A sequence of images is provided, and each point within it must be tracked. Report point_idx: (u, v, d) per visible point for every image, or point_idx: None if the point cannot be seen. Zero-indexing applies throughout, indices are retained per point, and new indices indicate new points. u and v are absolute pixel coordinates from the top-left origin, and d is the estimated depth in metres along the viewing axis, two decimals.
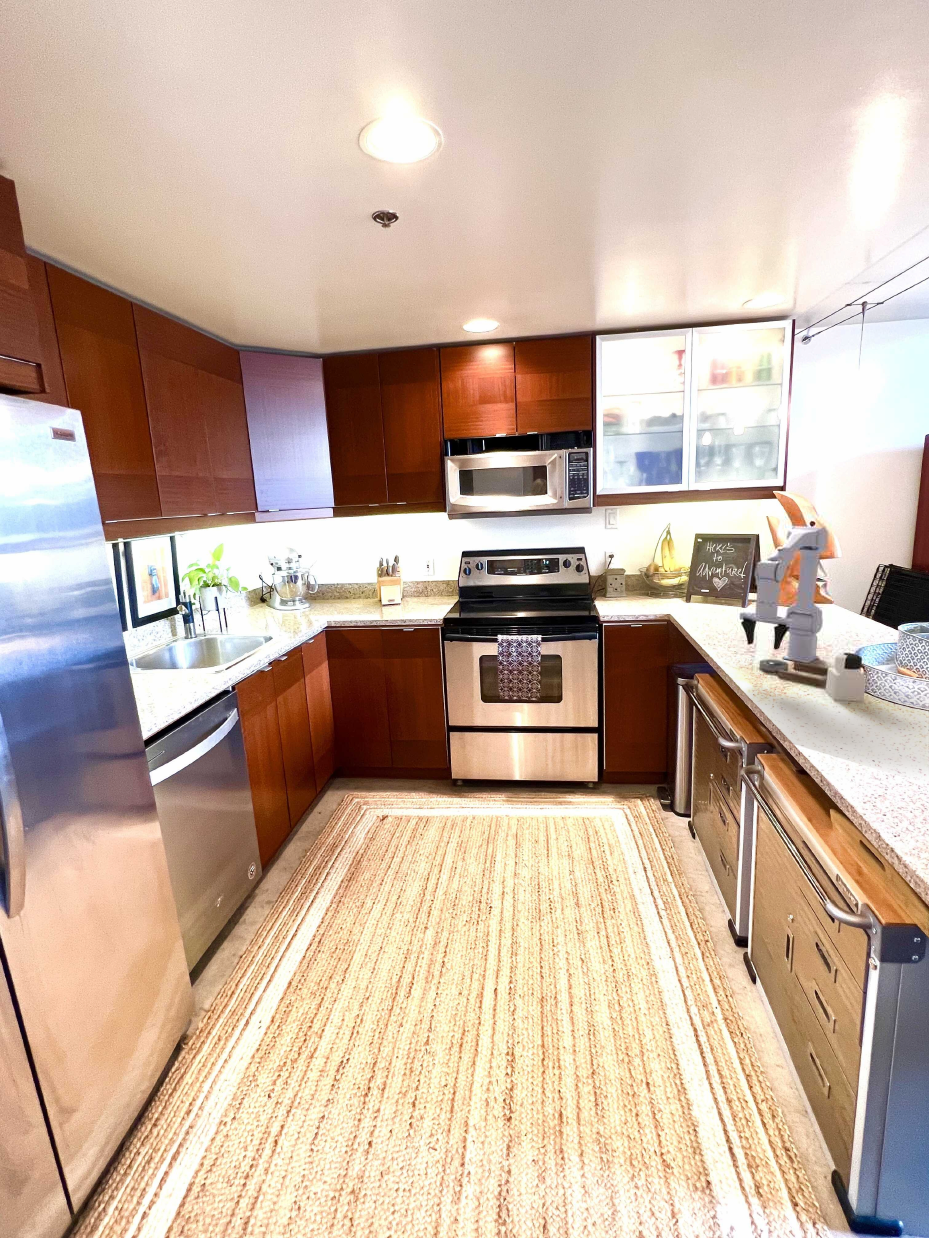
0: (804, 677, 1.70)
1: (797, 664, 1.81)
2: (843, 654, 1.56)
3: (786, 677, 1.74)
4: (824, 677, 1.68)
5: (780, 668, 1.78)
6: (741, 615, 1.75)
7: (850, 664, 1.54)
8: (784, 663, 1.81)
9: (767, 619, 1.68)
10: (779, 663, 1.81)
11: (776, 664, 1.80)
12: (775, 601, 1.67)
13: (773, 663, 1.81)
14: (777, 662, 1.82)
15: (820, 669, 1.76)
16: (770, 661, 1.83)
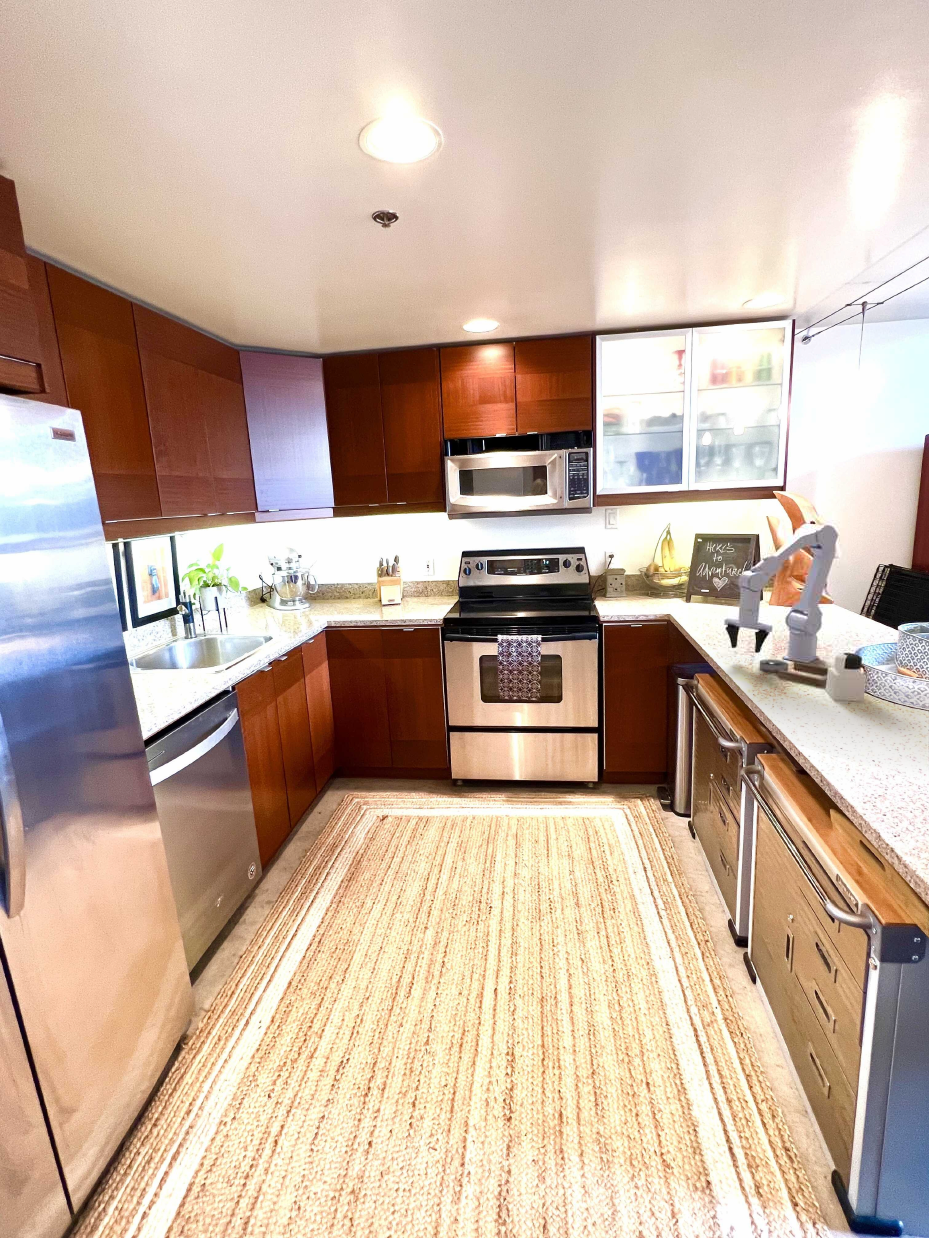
0: (804, 677, 1.70)
1: (797, 664, 1.81)
2: (843, 654, 1.56)
3: (786, 677, 1.74)
4: (824, 677, 1.68)
5: (780, 668, 1.78)
6: (726, 621, 1.91)
7: (850, 664, 1.54)
8: (784, 663, 1.81)
9: (749, 625, 1.83)
10: (779, 663, 1.81)
11: (776, 664, 1.80)
12: (752, 609, 1.82)
13: (773, 663, 1.81)
14: (777, 662, 1.82)
15: (820, 669, 1.76)
16: (770, 661, 1.83)
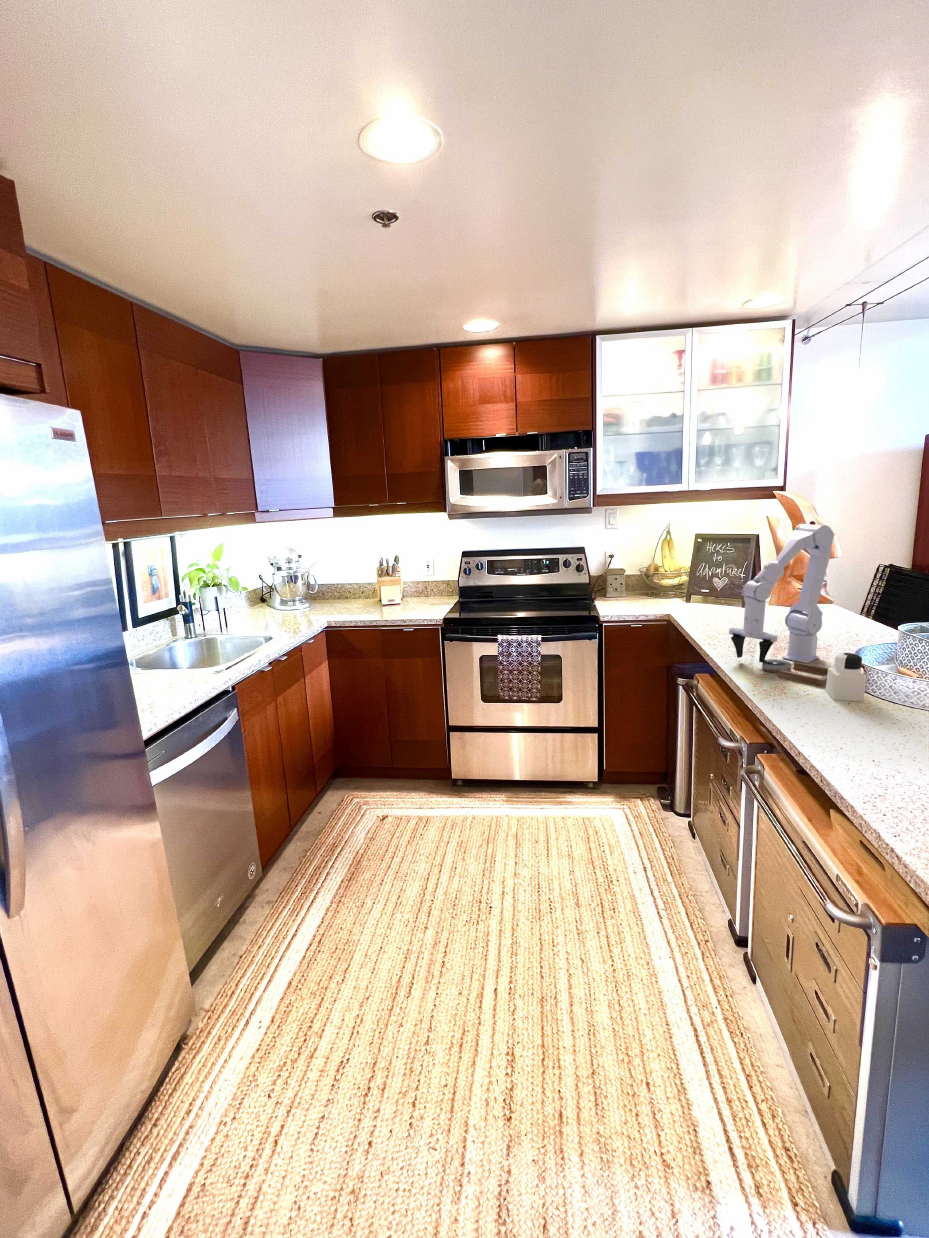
0: (804, 677, 1.70)
1: (797, 664, 1.81)
2: (843, 654, 1.56)
3: (786, 677, 1.74)
4: (824, 677, 1.68)
5: (783, 668, 1.77)
6: (730, 630, 1.90)
7: (850, 664, 1.54)
8: (787, 663, 1.80)
9: (754, 635, 1.83)
10: (782, 663, 1.80)
11: (779, 664, 1.80)
12: (757, 619, 1.81)
13: (776, 663, 1.81)
14: (780, 662, 1.81)
15: (820, 669, 1.76)
16: (773, 661, 1.83)
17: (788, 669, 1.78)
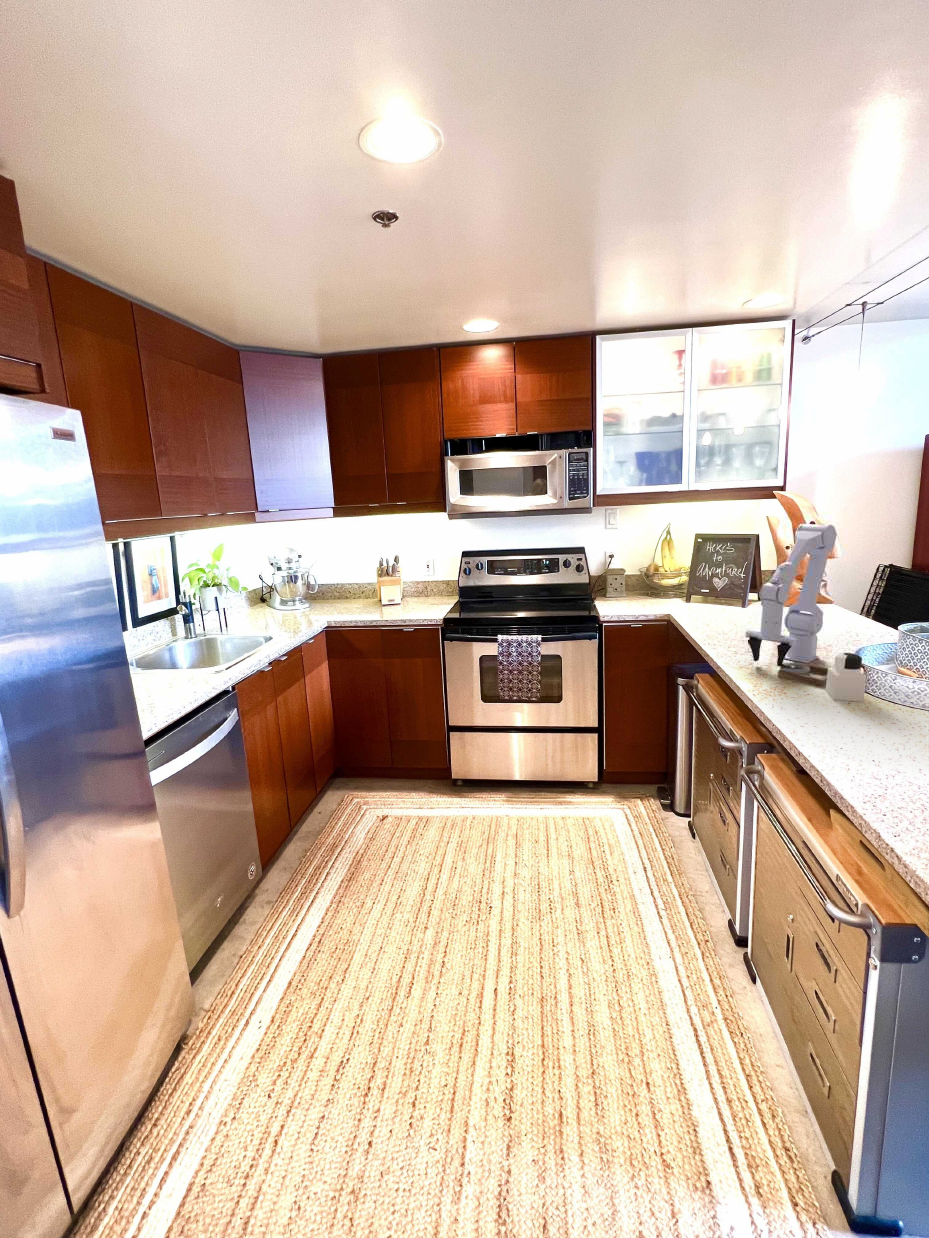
0: (804, 677, 1.70)
1: None
2: (843, 654, 1.56)
3: (786, 677, 1.74)
4: (824, 677, 1.68)
5: (801, 672, 1.73)
6: (747, 633, 1.86)
7: (850, 664, 1.54)
8: (806, 667, 1.76)
9: (771, 638, 1.78)
10: (800, 667, 1.76)
11: (797, 668, 1.75)
12: (778, 621, 1.77)
13: (794, 667, 1.76)
14: (798, 666, 1.77)
15: (820, 669, 1.76)
16: (791, 665, 1.78)
17: (807, 673, 1.74)
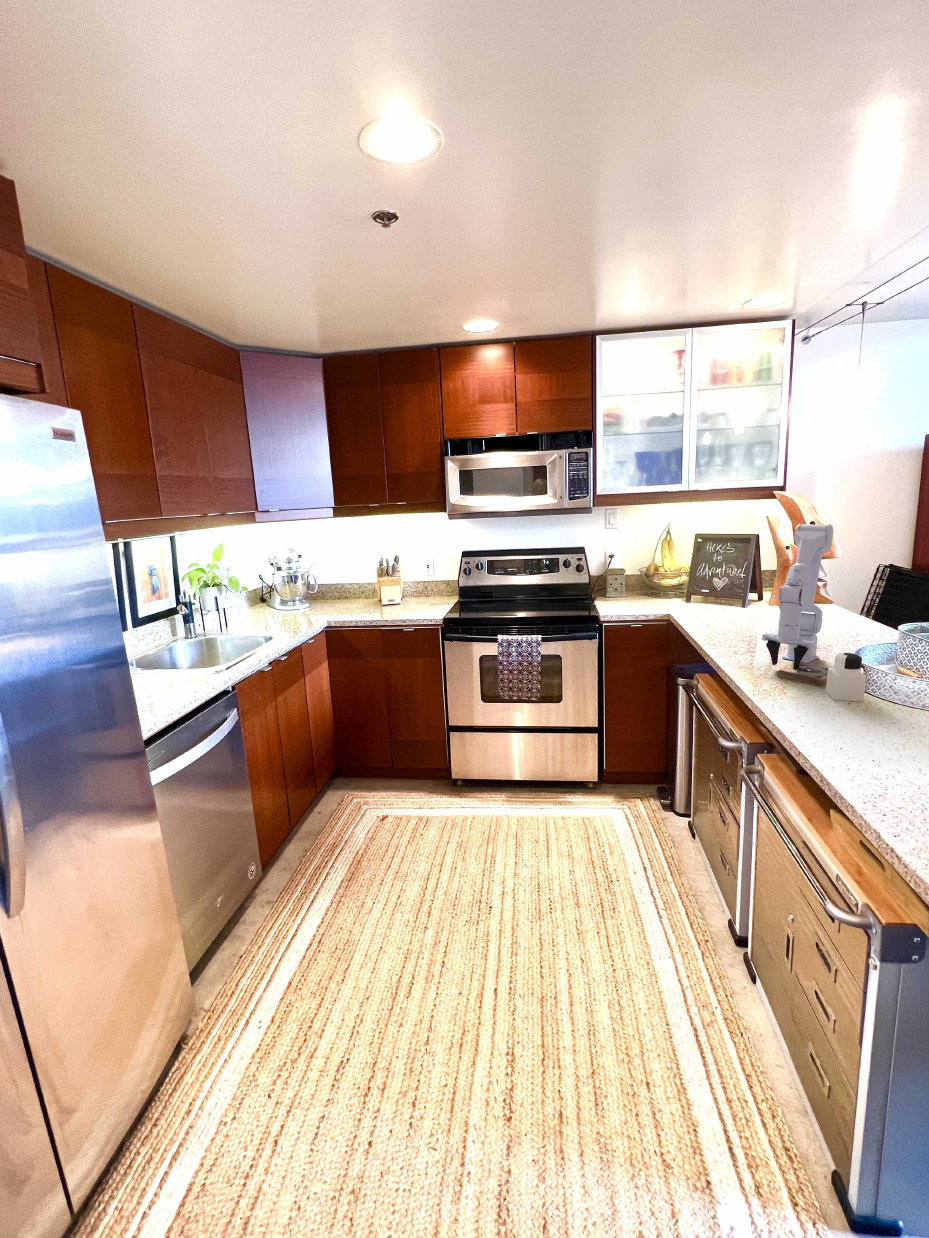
0: (804, 677, 1.70)
1: None
2: (843, 654, 1.56)
3: (786, 677, 1.74)
4: (824, 677, 1.68)
5: (819, 675, 1.70)
6: (764, 636, 1.82)
7: (850, 664, 1.54)
8: (823, 670, 1.73)
9: (789, 641, 1.74)
10: (818, 670, 1.73)
11: (815, 671, 1.72)
12: (798, 624, 1.74)
13: (811, 670, 1.73)
14: (815, 669, 1.74)
15: None
16: (808, 668, 1.75)
17: None
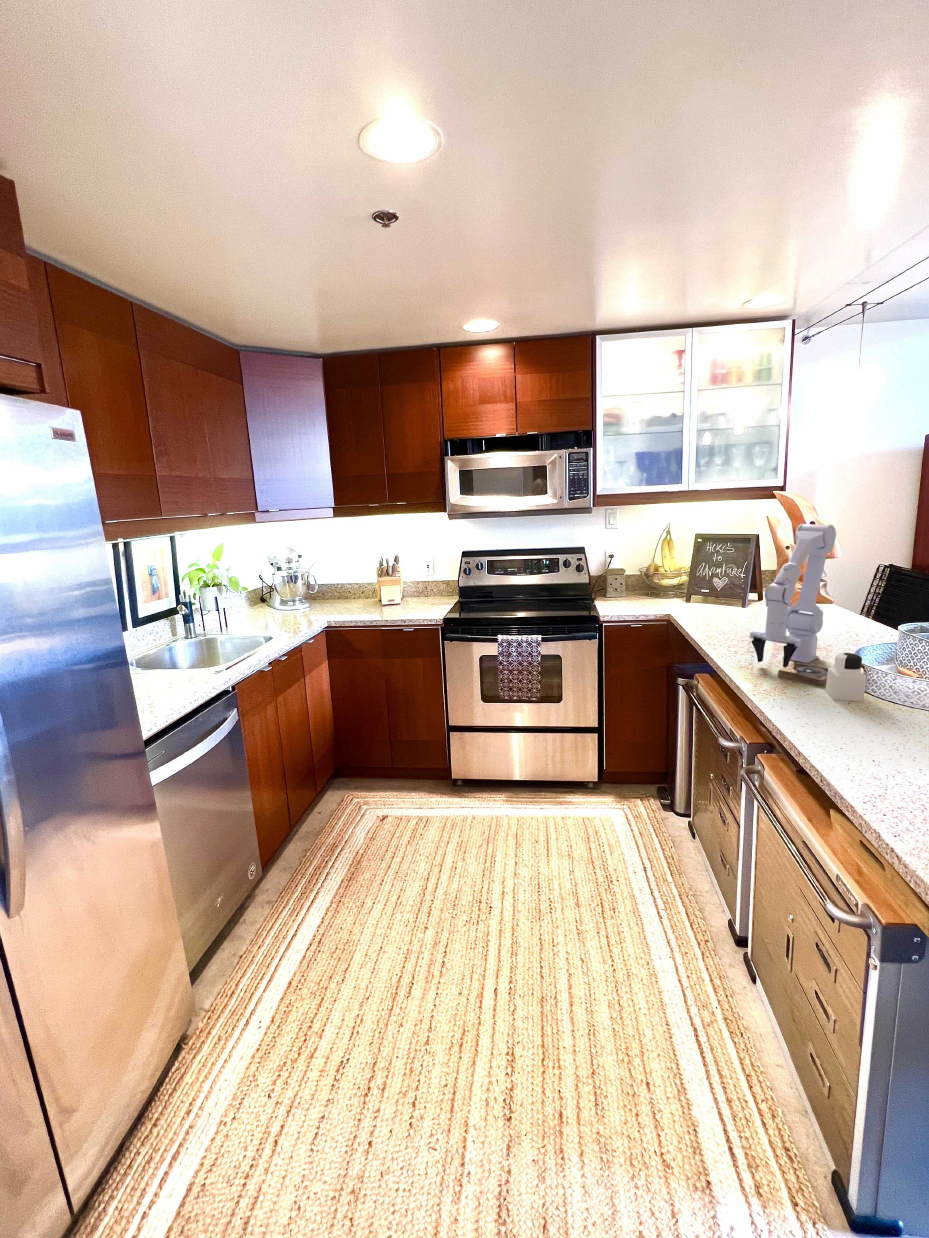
0: (804, 677, 1.70)
1: (797, 664, 1.81)
2: (843, 654, 1.56)
3: (786, 677, 1.74)
4: (824, 677, 1.68)
5: (819, 676, 1.70)
6: (751, 634, 1.85)
7: (850, 664, 1.54)
8: (823, 671, 1.73)
9: (777, 639, 1.77)
10: (818, 671, 1.73)
11: (814, 672, 1.72)
12: (783, 622, 1.76)
13: (811, 671, 1.73)
14: (815, 670, 1.74)
15: None
16: (808, 669, 1.75)
17: None
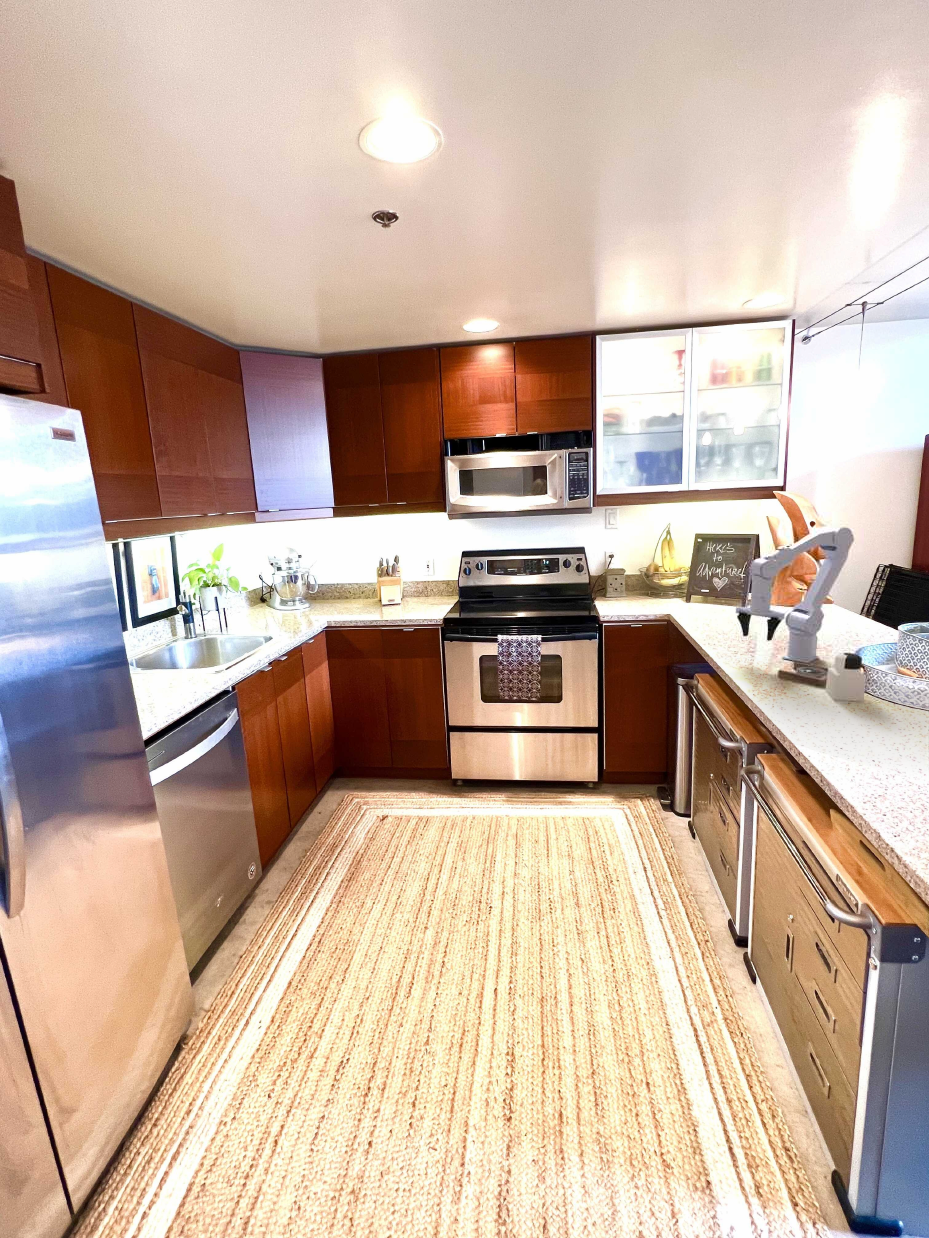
0: (804, 677, 1.70)
1: (797, 664, 1.81)
2: (843, 654, 1.56)
3: (786, 677, 1.74)
4: (824, 677, 1.68)
5: (819, 676, 1.70)
6: (737, 609, 1.90)
7: (850, 664, 1.54)
8: (823, 671, 1.73)
9: (761, 613, 1.83)
10: (818, 671, 1.73)
11: (814, 672, 1.72)
12: (764, 596, 1.82)
13: (811, 671, 1.73)
14: (815, 670, 1.74)
15: None
16: (808, 669, 1.75)
17: None
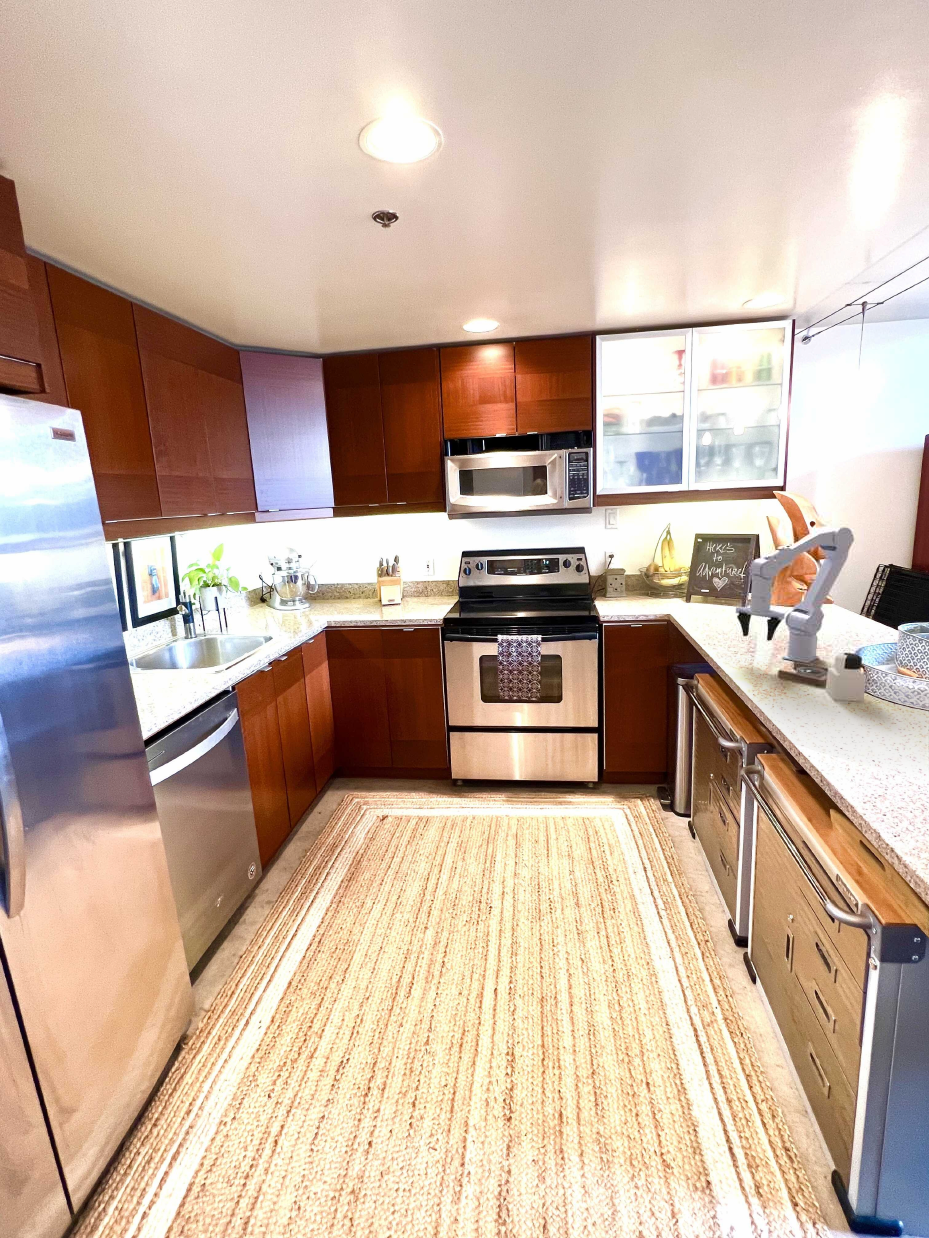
0: (804, 677, 1.70)
1: (797, 664, 1.81)
2: (843, 654, 1.56)
3: (786, 677, 1.74)
4: (824, 677, 1.68)
5: (819, 676, 1.70)
6: (737, 609, 1.90)
7: (850, 664, 1.54)
8: (823, 671, 1.73)
9: (761, 613, 1.83)
10: (818, 671, 1.73)
11: (814, 672, 1.72)
12: (764, 596, 1.82)
13: (811, 671, 1.73)
14: (815, 670, 1.74)
15: None
16: (808, 669, 1.75)
17: None
